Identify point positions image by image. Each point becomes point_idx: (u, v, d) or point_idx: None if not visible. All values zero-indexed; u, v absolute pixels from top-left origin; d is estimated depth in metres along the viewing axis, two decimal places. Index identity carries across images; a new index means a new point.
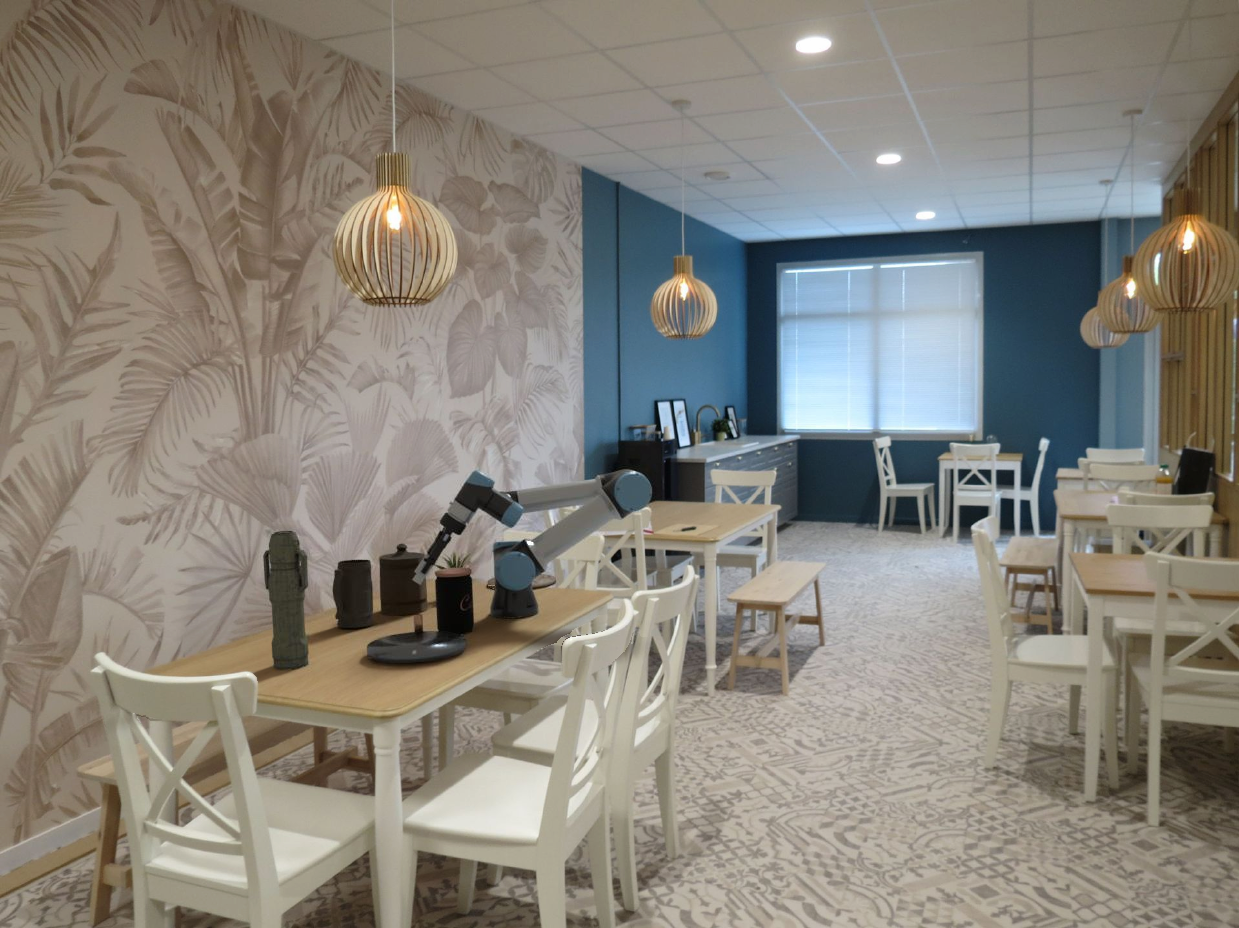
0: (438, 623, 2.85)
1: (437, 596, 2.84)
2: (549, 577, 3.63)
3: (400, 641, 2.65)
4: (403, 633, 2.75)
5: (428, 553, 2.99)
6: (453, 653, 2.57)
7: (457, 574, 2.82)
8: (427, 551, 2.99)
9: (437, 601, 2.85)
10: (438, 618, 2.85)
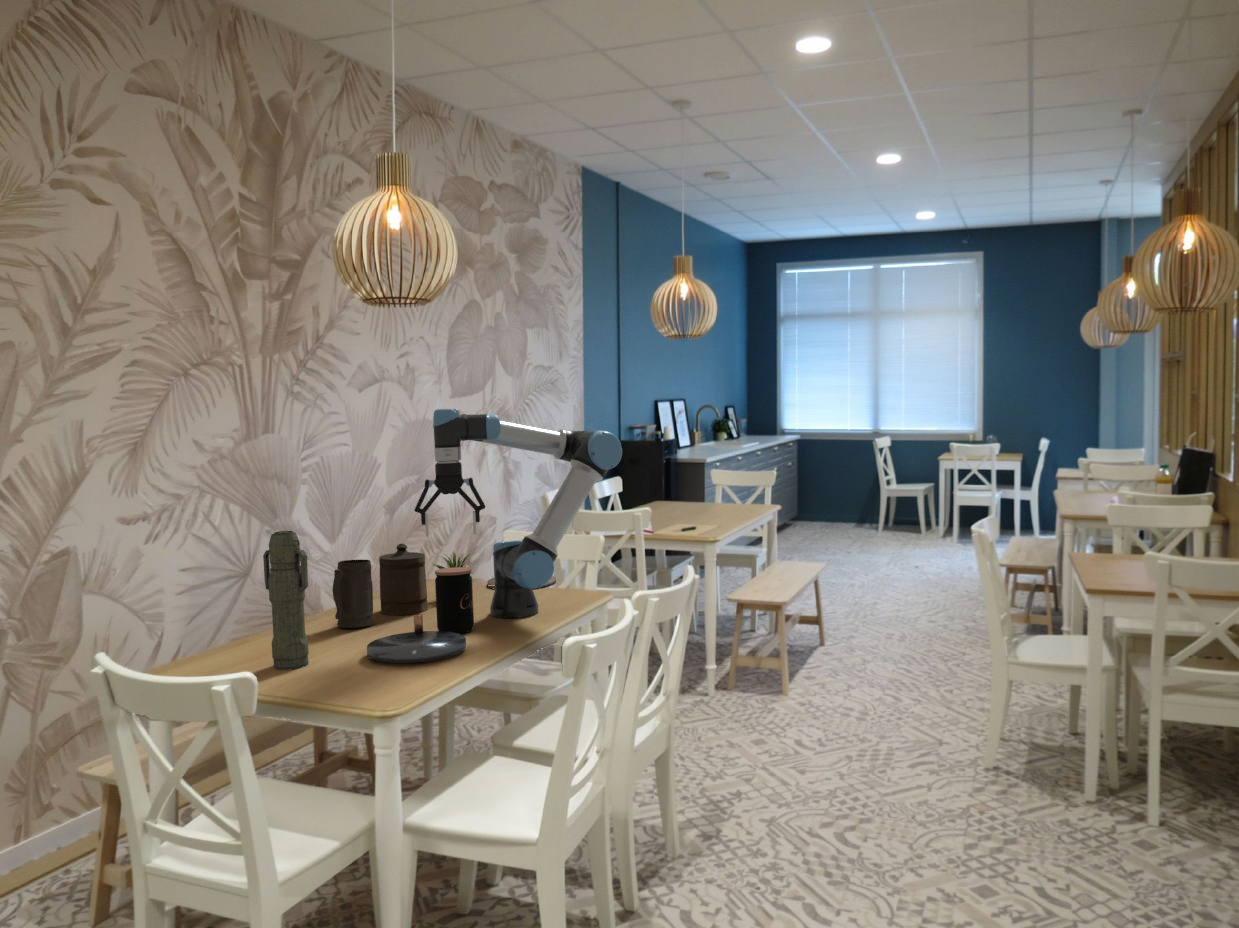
0: (438, 622, 2.85)
1: (437, 595, 2.85)
2: None
3: (400, 641, 2.65)
4: (403, 633, 2.75)
5: (424, 512, 2.84)
6: (453, 653, 2.57)
7: (457, 572, 2.83)
8: (424, 511, 2.83)
9: (437, 600, 2.85)
10: (438, 617, 2.85)
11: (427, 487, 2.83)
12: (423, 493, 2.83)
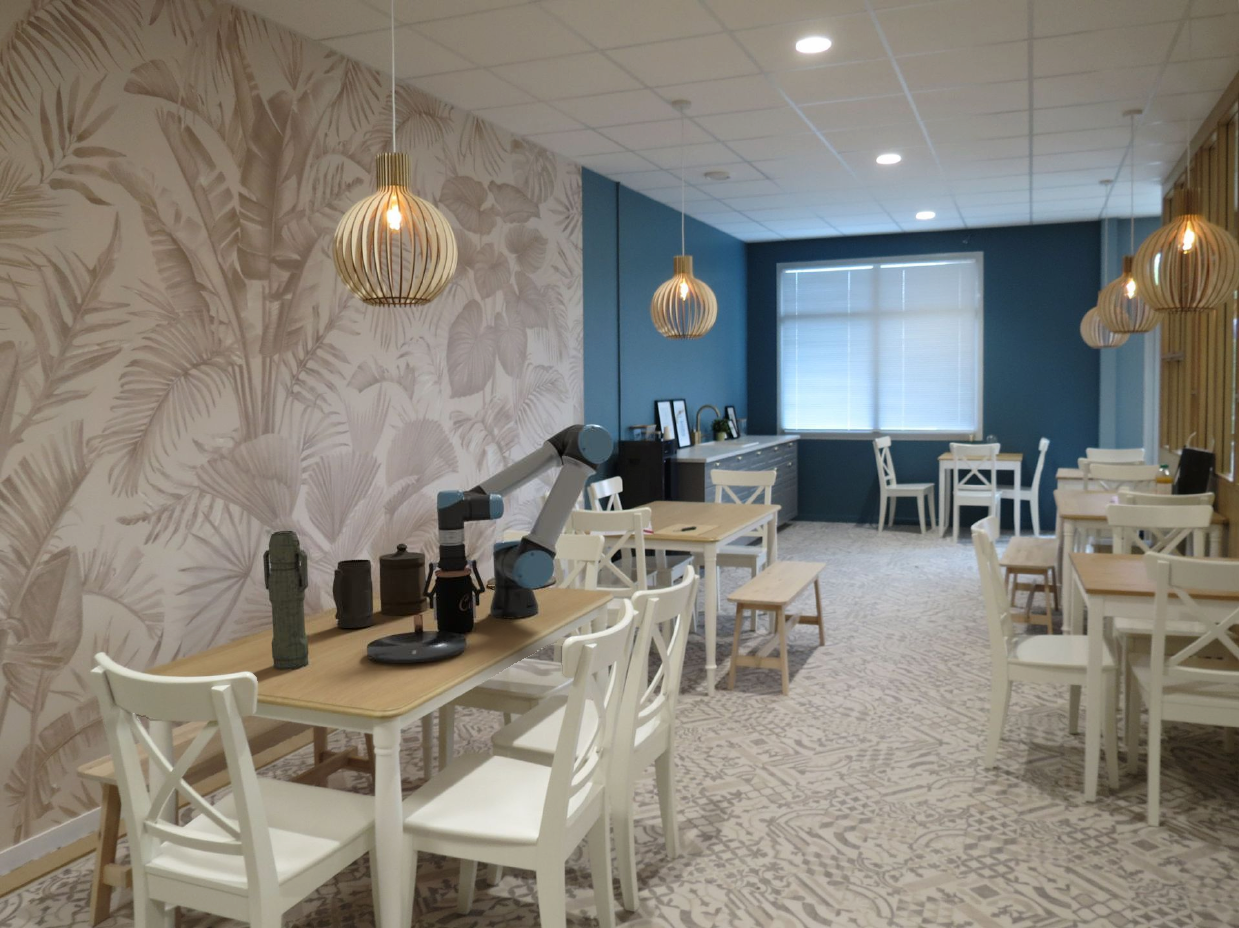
0: (437, 623, 2.85)
1: (437, 596, 2.84)
2: None
3: (400, 641, 2.65)
4: (403, 633, 2.75)
5: (432, 596, 2.86)
6: (453, 653, 2.57)
7: (456, 574, 2.82)
8: (432, 596, 2.85)
9: (437, 601, 2.85)
10: (438, 618, 2.85)
11: (432, 570, 2.85)
12: (429, 577, 2.85)
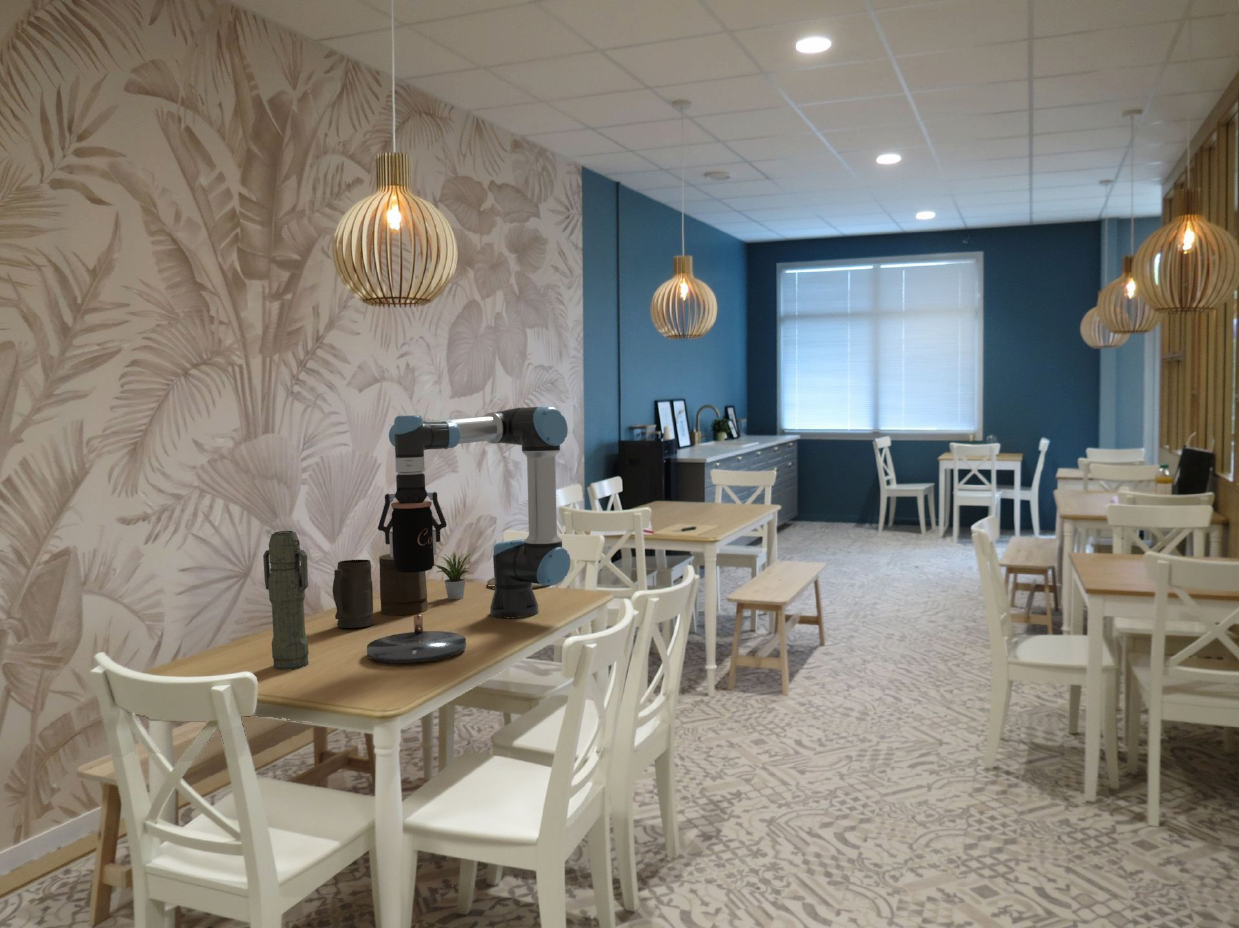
0: (394, 559, 2.61)
1: (393, 530, 2.60)
2: None
3: (400, 641, 2.65)
4: (403, 633, 2.75)
5: (389, 531, 2.61)
6: (453, 653, 2.57)
7: (414, 505, 2.57)
8: (388, 530, 2.61)
9: (393, 535, 2.60)
10: (394, 554, 2.61)
11: (388, 502, 2.60)
12: (384, 509, 2.60)
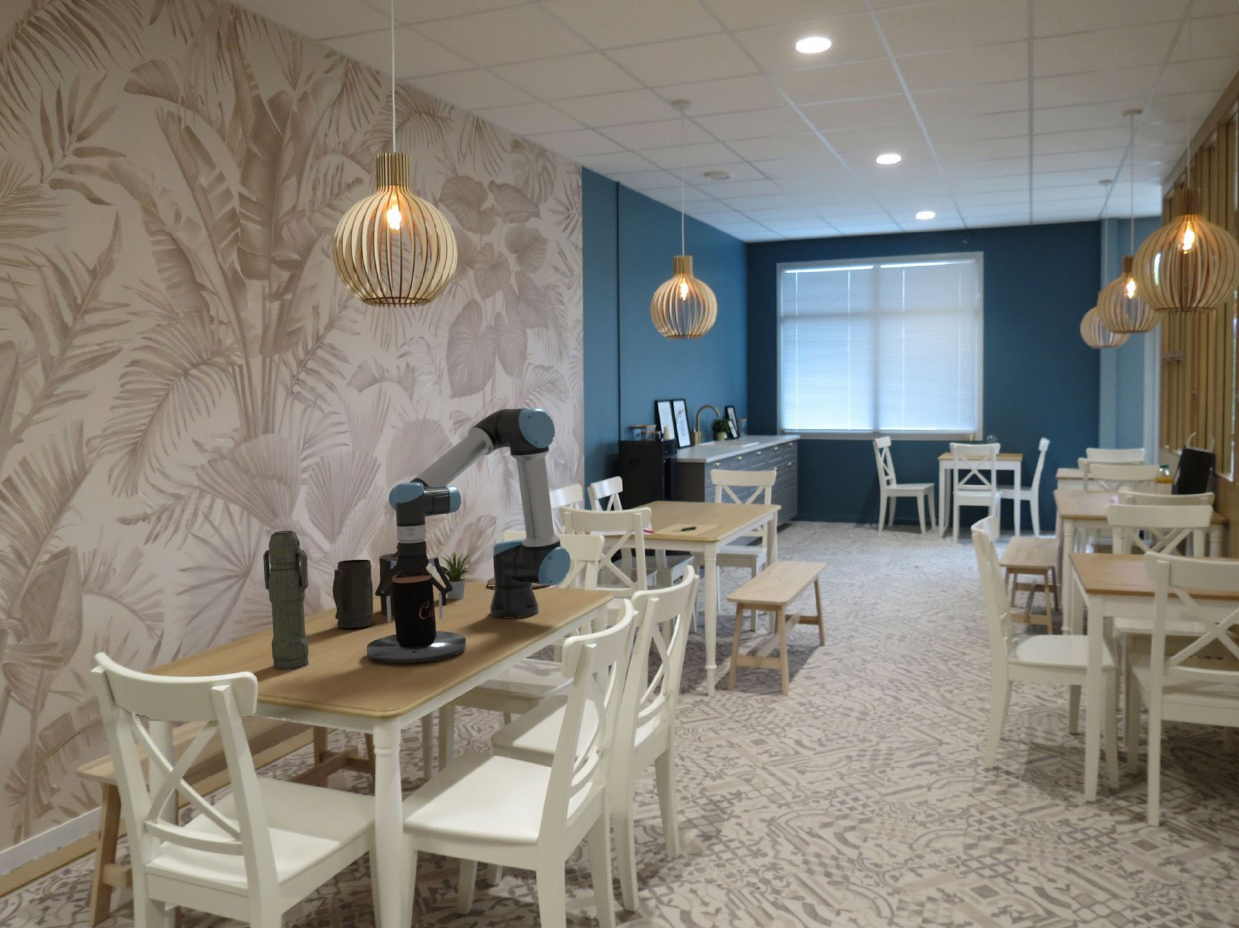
0: (396, 633, 2.61)
1: (394, 604, 2.60)
2: None
3: None
4: None
5: None
6: (453, 653, 2.57)
7: (414, 579, 2.58)
8: (385, 595, 2.60)
9: (394, 609, 2.61)
10: (396, 628, 2.61)
11: (389, 569, 2.60)
12: (384, 575, 2.60)
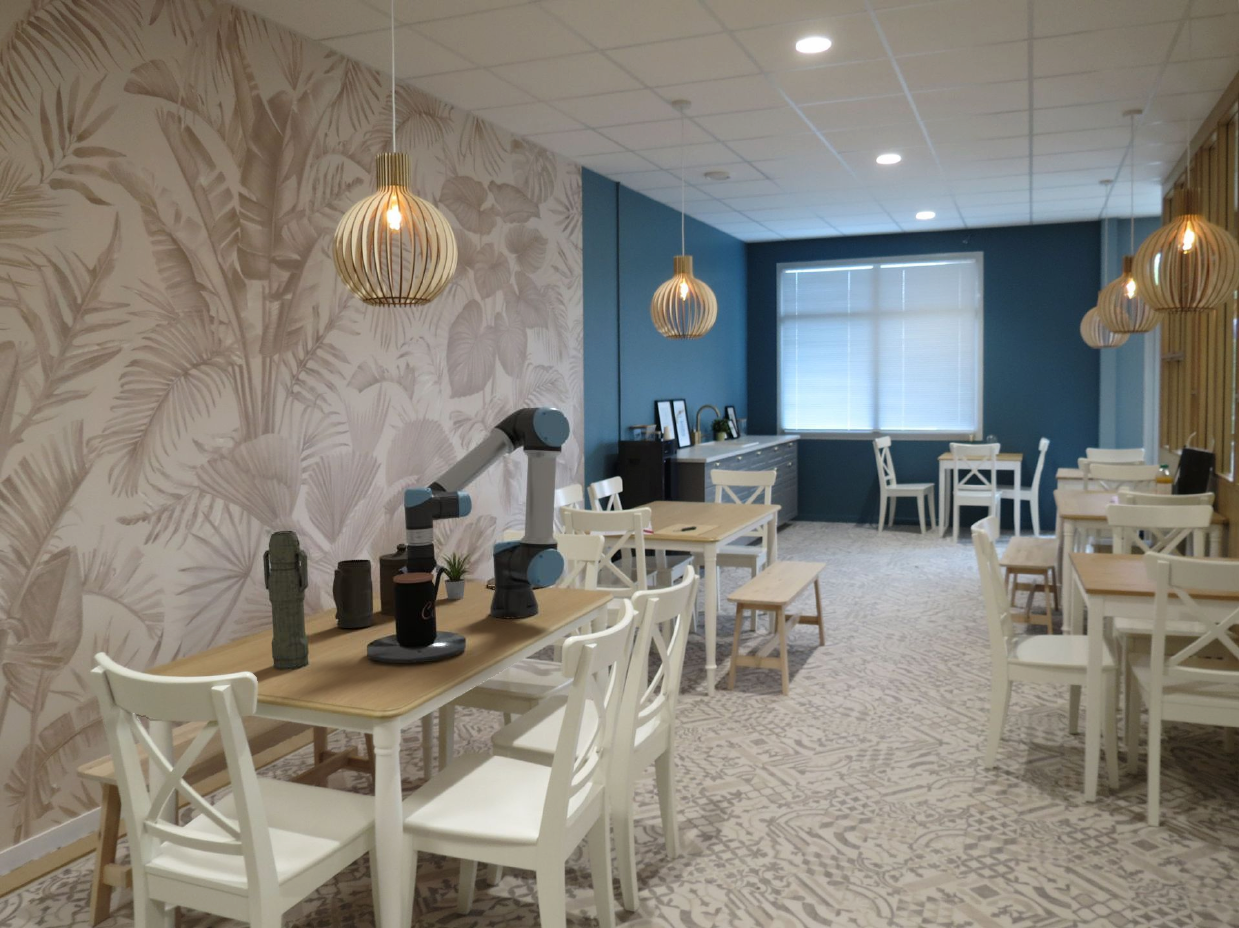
0: (397, 633, 2.61)
1: (396, 604, 2.60)
2: None
3: None
4: None
5: None
6: (456, 652, 2.58)
7: (418, 580, 2.58)
8: None
9: (396, 609, 2.60)
10: (397, 628, 2.60)
11: None
12: None
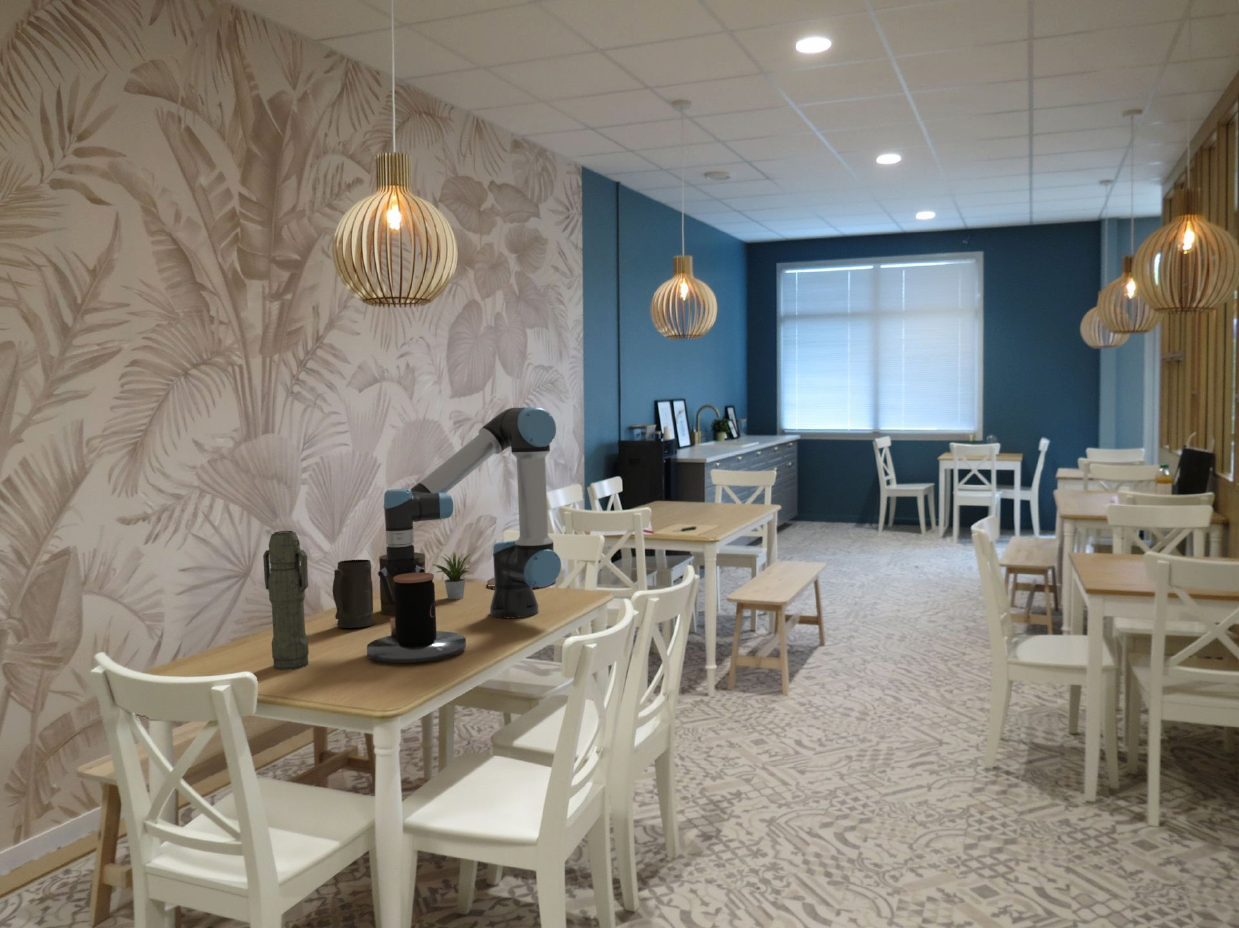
0: (402, 635, 2.59)
1: (402, 605, 2.58)
2: None
3: (397, 644, 2.63)
4: (381, 638, 2.70)
5: None
6: (465, 646, 2.64)
7: (426, 578, 2.59)
8: None
9: (401, 610, 2.59)
10: (403, 629, 2.59)
11: (384, 577, 2.72)
12: (385, 585, 2.72)
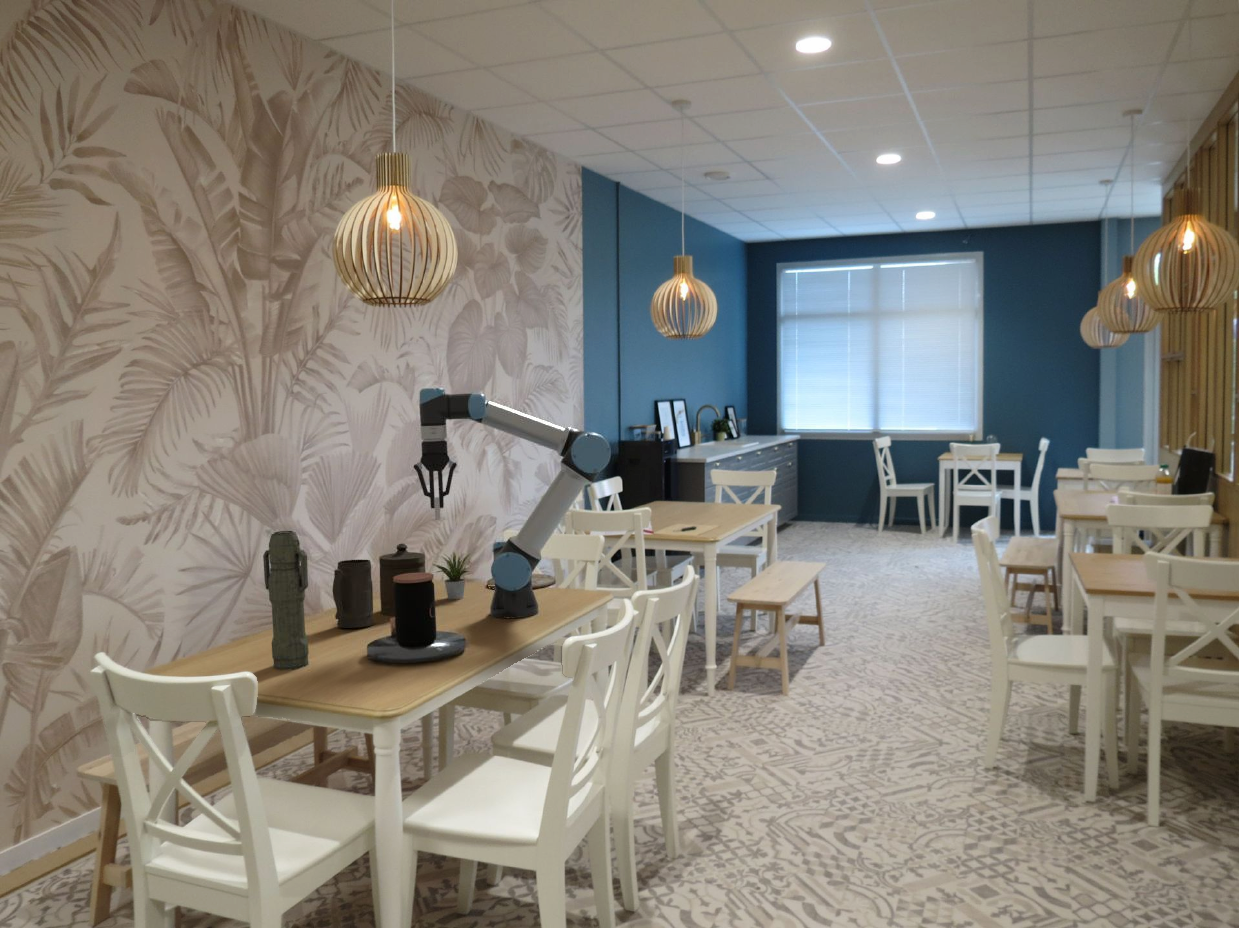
0: (402, 635, 2.59)
1: (402, 605, 2.58)
2: (549, 577, 3.63)
3: (397, 644, 2.63)
4: (381, 638, 2.70)
5: (433, 496, 2.92)
6: (465, 646, 2.64)
7: (426, 578, 2.59)
8: (432, 495, 2.91)
9: (401, 610, 2.59)
10: (403, 629, 2.59)
11: (419, 470, 2.90)
12: (420, 477, 2.91)
